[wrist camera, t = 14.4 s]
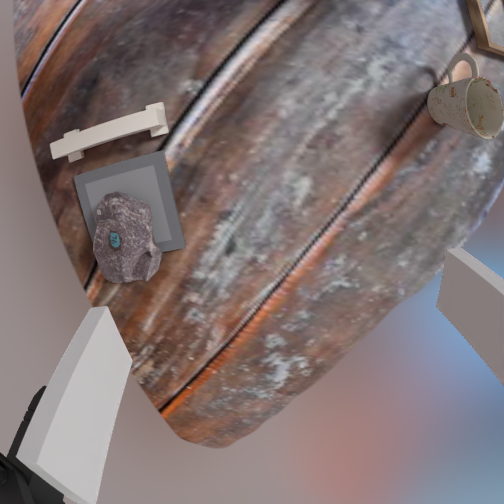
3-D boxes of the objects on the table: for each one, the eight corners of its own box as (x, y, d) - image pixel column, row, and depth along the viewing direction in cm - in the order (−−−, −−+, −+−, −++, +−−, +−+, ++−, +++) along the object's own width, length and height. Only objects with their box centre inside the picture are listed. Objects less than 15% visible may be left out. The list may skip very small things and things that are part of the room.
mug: (420, 127, 36) (465, 133, 27) (418, 48, 31) (460, 38, 22) (459, 135, 37) (503, 144, 27) (457, 62, 32) (500, 58, 22)
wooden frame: (453, -32, 23) (463, -36, 20) (506, -6, 23) (515, -8, 21) (477, 47, 30) (489, 46, 27) (525, 65, 30) (535, 65, 28)
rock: (153, 184, 35) (146, 195, 31) (166, 266, 40) (162, 284, 36) (94, 192, 34) (80, 204, 30) (112, 270, 40) (102, 288, 35)
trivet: (75, 175, 35) (73, 176, 34) (164, 149, 35) (162, 150, 34) (102, 261, 40) (99, 264, 39) (186, 245, 40) (185, 248, 39)
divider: (67, 133, 32) (48, 136, 28) (163, 102, 33) (154, 99, 28) (72, 161, 34) (54, 167, 29) (168, 132, 34) (160, 133, 30)
